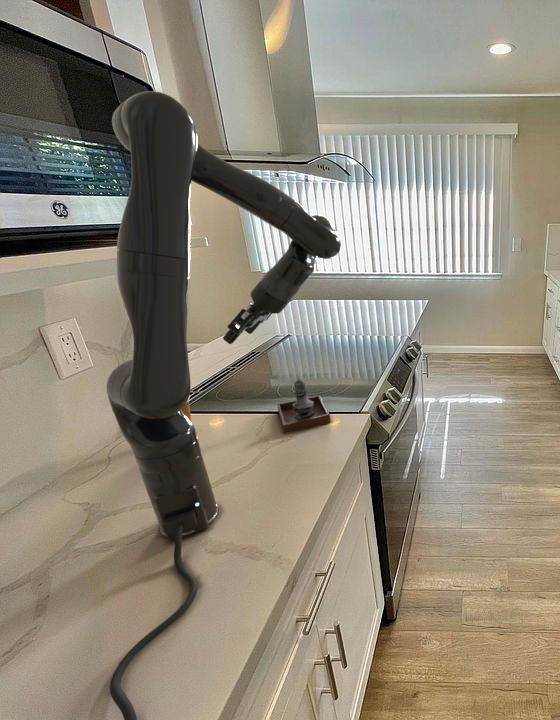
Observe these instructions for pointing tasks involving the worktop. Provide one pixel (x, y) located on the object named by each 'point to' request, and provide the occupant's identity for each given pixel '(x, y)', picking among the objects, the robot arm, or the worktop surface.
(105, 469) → the worktop surface
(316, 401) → the spice tray
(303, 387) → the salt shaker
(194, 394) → the worktop surface
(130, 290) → the robot arm
